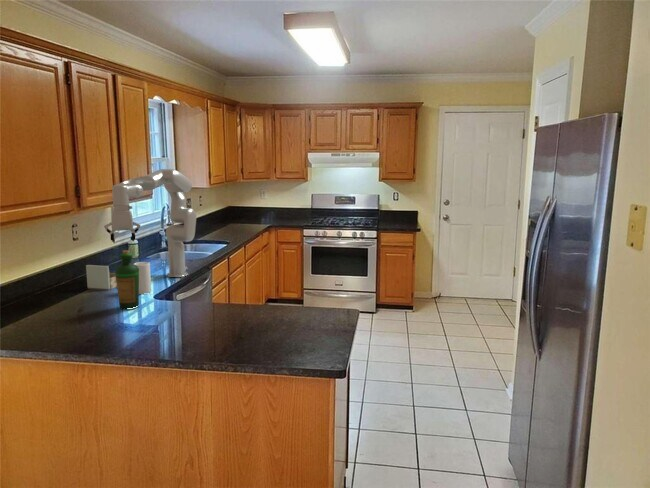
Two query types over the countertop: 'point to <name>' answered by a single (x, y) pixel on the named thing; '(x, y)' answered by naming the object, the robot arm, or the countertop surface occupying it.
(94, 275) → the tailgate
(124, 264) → the bottle
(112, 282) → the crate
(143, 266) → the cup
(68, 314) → the countertop surface
